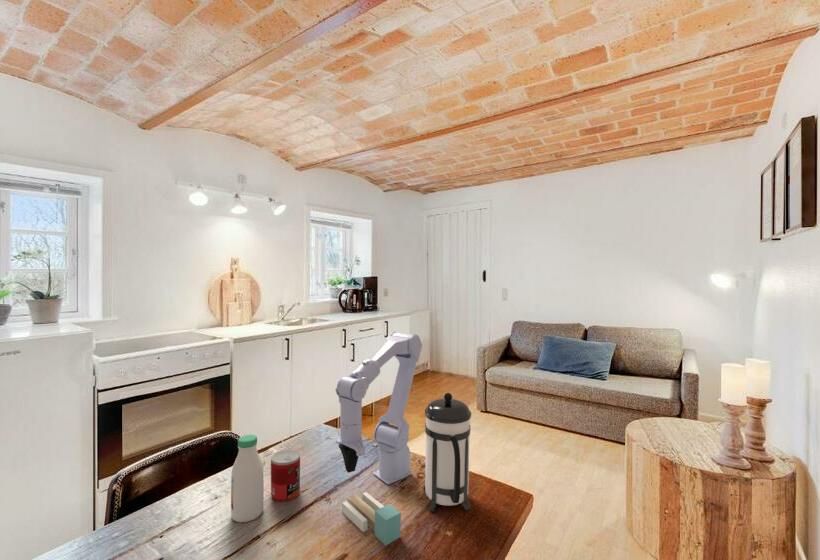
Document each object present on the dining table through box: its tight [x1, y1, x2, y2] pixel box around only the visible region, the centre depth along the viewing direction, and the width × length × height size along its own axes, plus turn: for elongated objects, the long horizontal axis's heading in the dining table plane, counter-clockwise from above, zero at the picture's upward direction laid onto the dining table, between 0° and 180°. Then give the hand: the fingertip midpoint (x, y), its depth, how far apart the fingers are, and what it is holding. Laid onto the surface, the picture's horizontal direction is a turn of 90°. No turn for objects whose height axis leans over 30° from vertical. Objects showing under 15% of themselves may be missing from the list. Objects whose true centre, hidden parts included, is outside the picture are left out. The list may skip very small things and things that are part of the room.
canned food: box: [270, 449, 301, 503], centre depth 108 cm, size 8×8×11 cm
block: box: [374, 503, 402, 546], centre depth 92 cm, size 4×4×6 cm
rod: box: [346, 493, 375, 533], centre depth 99 cm, size 3×14×3 cm, turn 40°
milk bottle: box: [230, 434, 265, 523], centre depth 99 cm, size 8×8×20 cm
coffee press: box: [423, 392, 472, 513], centre depth 105 cm, size 17×16×30 cm
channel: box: [341, 491, 385, 533], centre depth 99 cm, size 8×10×2 cm
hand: (350, 470), depth 104 cm, fingers closed
